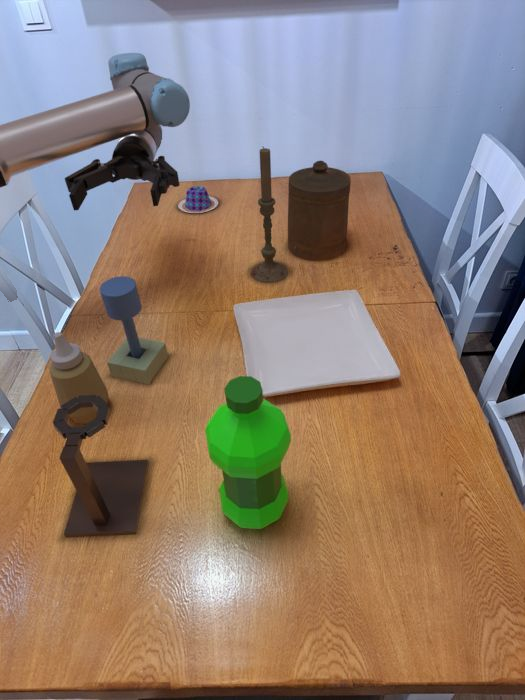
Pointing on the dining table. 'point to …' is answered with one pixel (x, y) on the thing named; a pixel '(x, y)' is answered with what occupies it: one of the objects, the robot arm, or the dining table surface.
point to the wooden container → (318, 212)
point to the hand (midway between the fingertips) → (113, 200)
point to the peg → (123, 307)
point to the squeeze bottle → (75, 377)
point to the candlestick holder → (267, 227)
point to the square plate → (312, 343)
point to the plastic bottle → (249, 454)
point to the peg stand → (98, 478)
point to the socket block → (138, 361)
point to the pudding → (197, 200)
